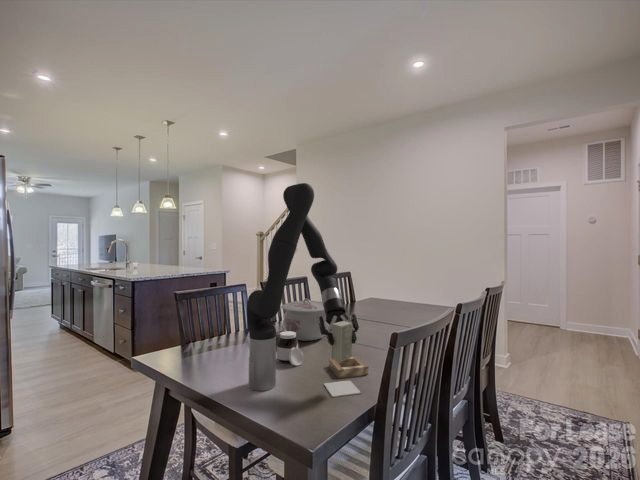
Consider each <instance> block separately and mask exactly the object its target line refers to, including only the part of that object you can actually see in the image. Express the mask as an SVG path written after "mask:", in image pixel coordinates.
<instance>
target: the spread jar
mask: <svg viewBox="0 0 640 480" xmlns="http://www.w3.org/2000/svg"><path fill="white" fill-rule="evenodd" d="M276 360H277V361H278V362H279V363H282V364H286V365H287V364H291V365H292V366H295V367H296V366H300V365H302V363H303V362H304V353H303V350H302V349H300V348H299V340H297V338H296V333H295V332H292V331H287V330H286V331H281V332H280V333H279V339H278V341H277V344H276Z"/></svg>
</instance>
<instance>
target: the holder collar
mask: <svg viewBox="0 0 640 480" xmlns="http://www.w3.org/2000/svg"><path fill="white" fill-rule="evenodd" d="M328 367H329V369H331V371H332V372H333V373H334V374H335V375H336V377H337V378H338V379H341V378H349V377H359V376H366V375H367V376H368V375H369V366H368V365H367V364H366V363H365V362H364V361H362V359H360V358H359V357H358V356H357V355H354V356H352V357H351V358H349V359H346V360H344V361H341V362H340V361H337V360H334V359H332V358H329V359H328Z"/></svg>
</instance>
